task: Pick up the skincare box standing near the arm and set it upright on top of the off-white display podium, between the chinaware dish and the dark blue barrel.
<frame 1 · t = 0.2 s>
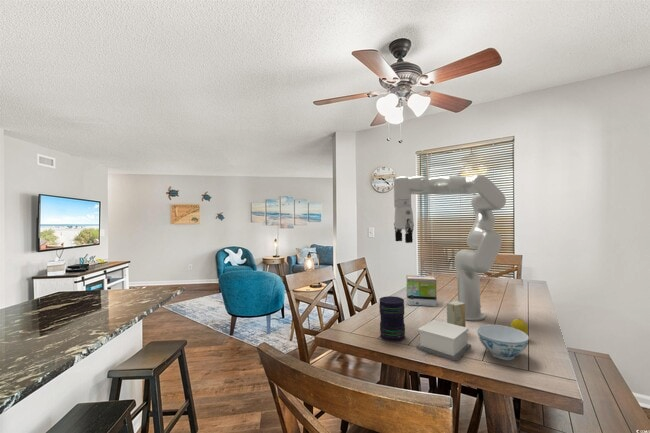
hand: (403, 241, 131), 37 cm above the table, tool pointing down, fingers open, 9 cm apart
lemon: (519, 340, 111), on the table
dark blue barrel: (392, 337, 116), on the table
chinaware: (502, 355, 99), on the table
display podium: (443, 347, 105), on the table
tea box: (421, 303, 160), on the table
skincare box: (456, 333, 119), on the table
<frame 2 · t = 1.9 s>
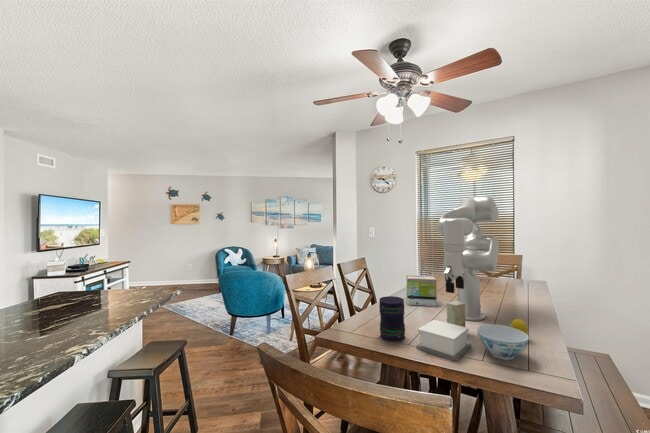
hand: (455, 290, 118), 17 cm above the table, tool pointing down, fingers open, 9 cm apart
nothing on the table moved.
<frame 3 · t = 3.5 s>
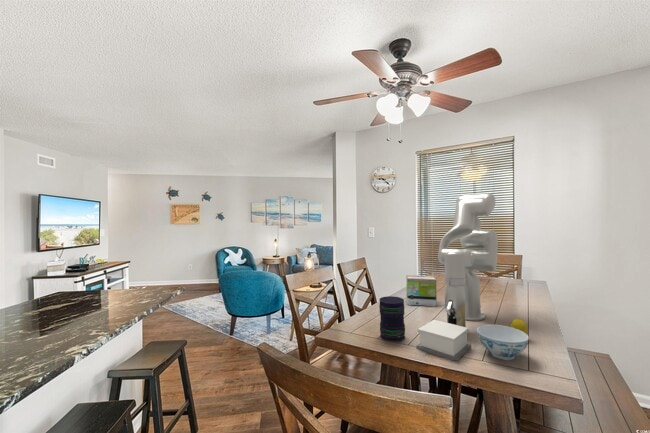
hand: (456, 324, 119), 3 cm above the table, tool pointing down, fingers closed on skincare box, 7 cm apart
skincare box: (456, 333, 119), on the table, touching gripper
everything else where it was.
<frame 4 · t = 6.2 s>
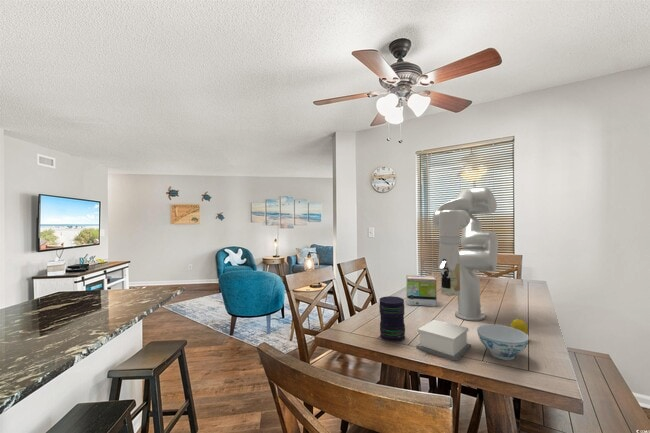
hand: (450, 286, 114), 20 cm above the table, tool pointing down, fingers closed on skincare box, 7 cm apart
skincare box: (450, 295, 114), point 17 cm above the table, touching gripper
everything else where it was.
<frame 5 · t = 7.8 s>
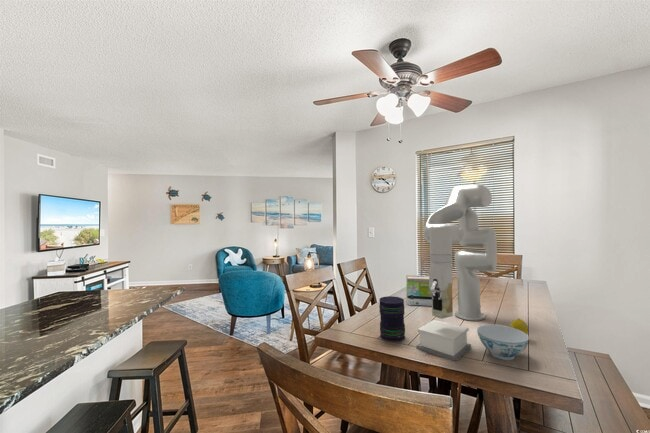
hand: (442, 307, 105), 15 cm above the table, tool pointing down, fingers closed on skincare box, 7 cm apart
skincare box: (442, 316, 105), point 11 cm above the table, touching gripper
everything else where it was.
when the fingers open (12 cm above the table, at t = 8.9 s): skincare box drops 1 cm, resting on display podium.
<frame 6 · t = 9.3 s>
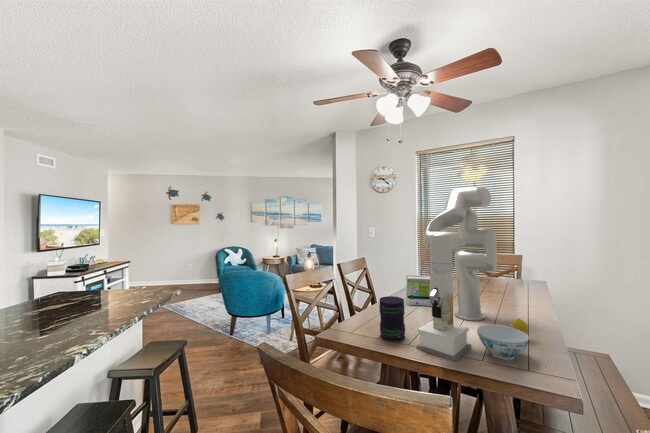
hand: (442, 313, 105), 12 cm above the table, tool pointing down, fingers open, 9 cm apart
skincare box: (443, 328, 106), point 7 cm above the table, touching display podium
everything else where it was.
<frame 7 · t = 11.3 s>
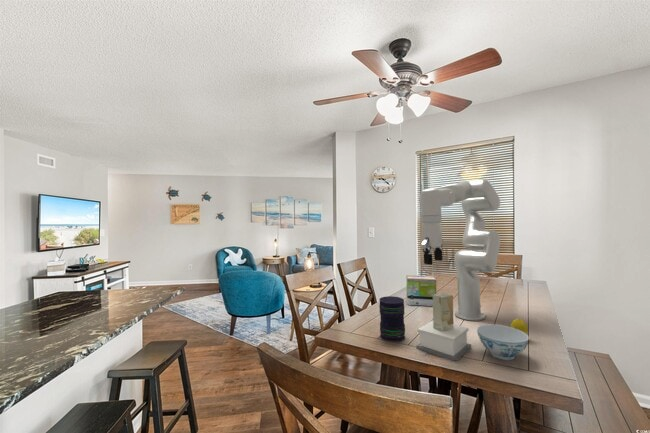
hand: (433, 262, 117), 30 cm above the table, tool pointing down, fingers open, 9 cm apart
nothing on the table moved.
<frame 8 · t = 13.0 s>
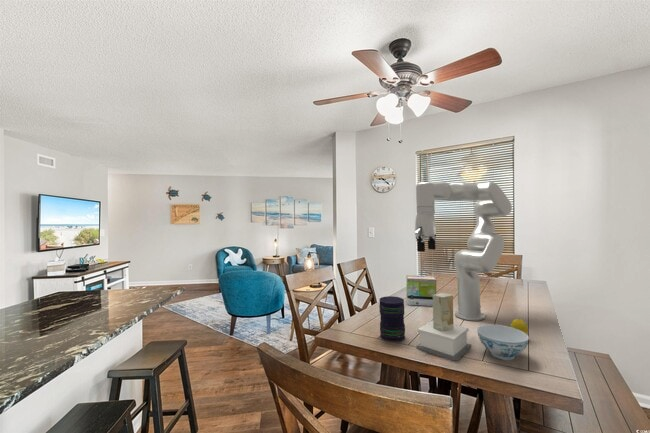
hand: (426, 250, 125), 33 cm above the table, tool pointing down, fingers open, 9 cm apart
nothing on the table moved.
at the end: skincare box inside the target area on the display podium (0.5 cm from its centre), point 6.8 cm above the display podium's base; skincare box tilted 0°; the gripper is holding nothing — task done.
